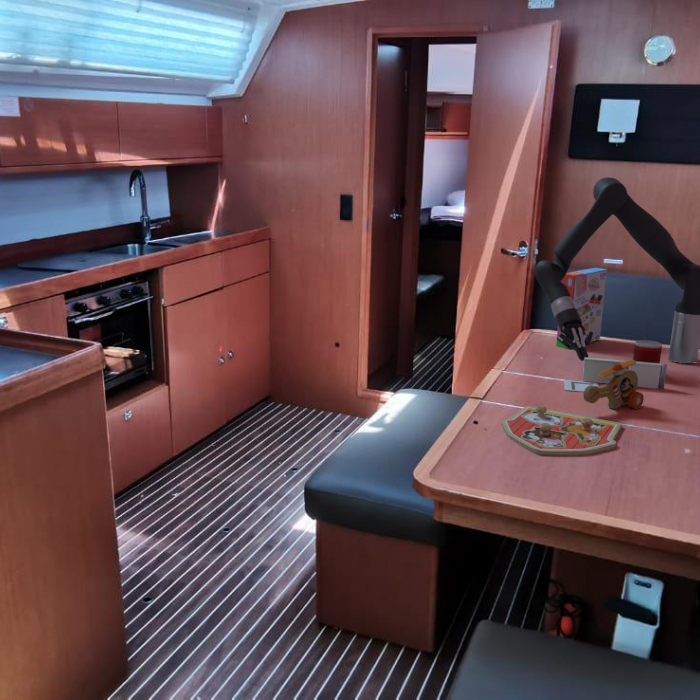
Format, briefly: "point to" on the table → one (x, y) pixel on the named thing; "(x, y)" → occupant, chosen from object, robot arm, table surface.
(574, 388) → the card
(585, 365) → the swing panel
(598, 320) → the game box
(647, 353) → the canned food
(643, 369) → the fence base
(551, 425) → the knob puzzle
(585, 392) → the toy helicopter
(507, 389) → the table surface
